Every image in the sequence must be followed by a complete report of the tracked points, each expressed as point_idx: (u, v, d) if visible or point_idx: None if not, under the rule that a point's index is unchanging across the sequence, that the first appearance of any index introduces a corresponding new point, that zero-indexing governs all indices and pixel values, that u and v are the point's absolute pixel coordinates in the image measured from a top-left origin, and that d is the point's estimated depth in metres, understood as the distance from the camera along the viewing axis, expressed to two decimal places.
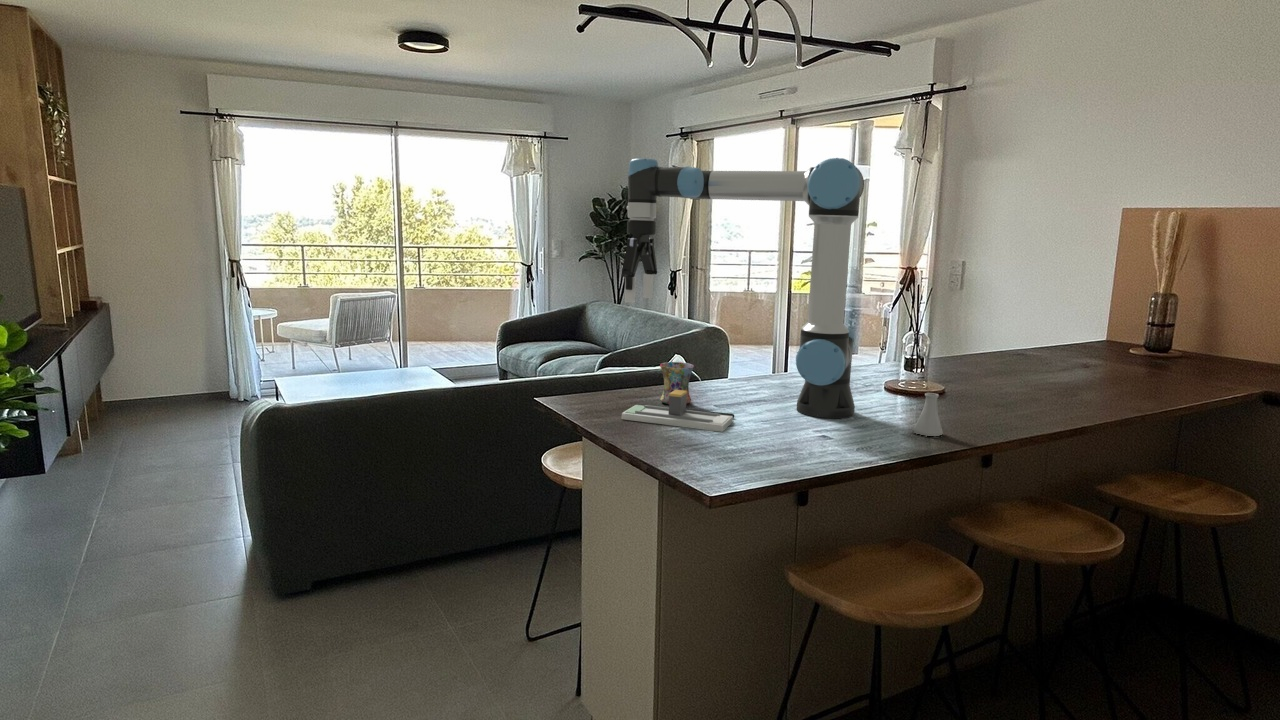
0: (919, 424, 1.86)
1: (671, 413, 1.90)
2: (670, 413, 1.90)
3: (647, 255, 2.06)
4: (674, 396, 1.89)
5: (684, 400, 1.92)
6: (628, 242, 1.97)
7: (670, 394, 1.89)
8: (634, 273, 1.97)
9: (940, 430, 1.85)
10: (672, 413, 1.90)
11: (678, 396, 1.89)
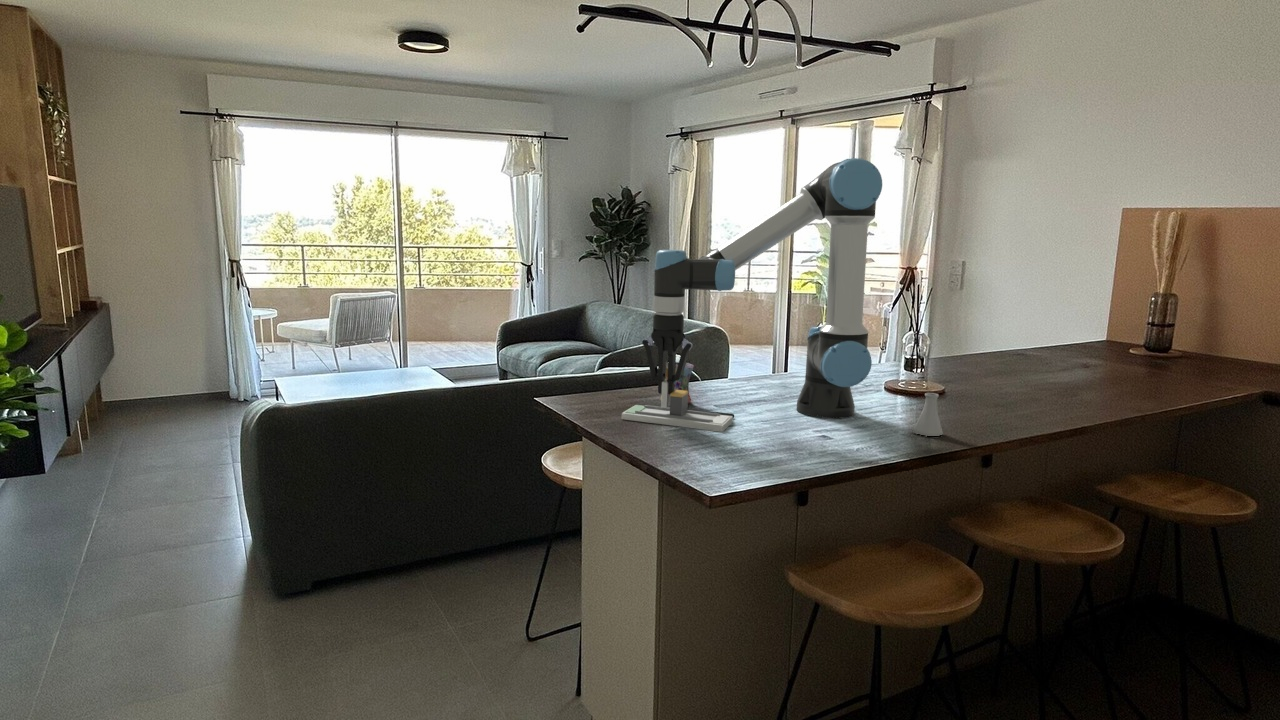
0: (919, 424, 1.86)
1: (672, 413, 1.90)
2: (671, 413, 1.90)
3: None
4: (675, 396, 1.89)
5: (685, 400, 1.92)
6: None
7: (671, 394, 1.89)
8: (660, 376, 1.91)
9: (940, 430, 1.85)
10: (673, 413, 1.90)
11: (679, 396, 1.89)
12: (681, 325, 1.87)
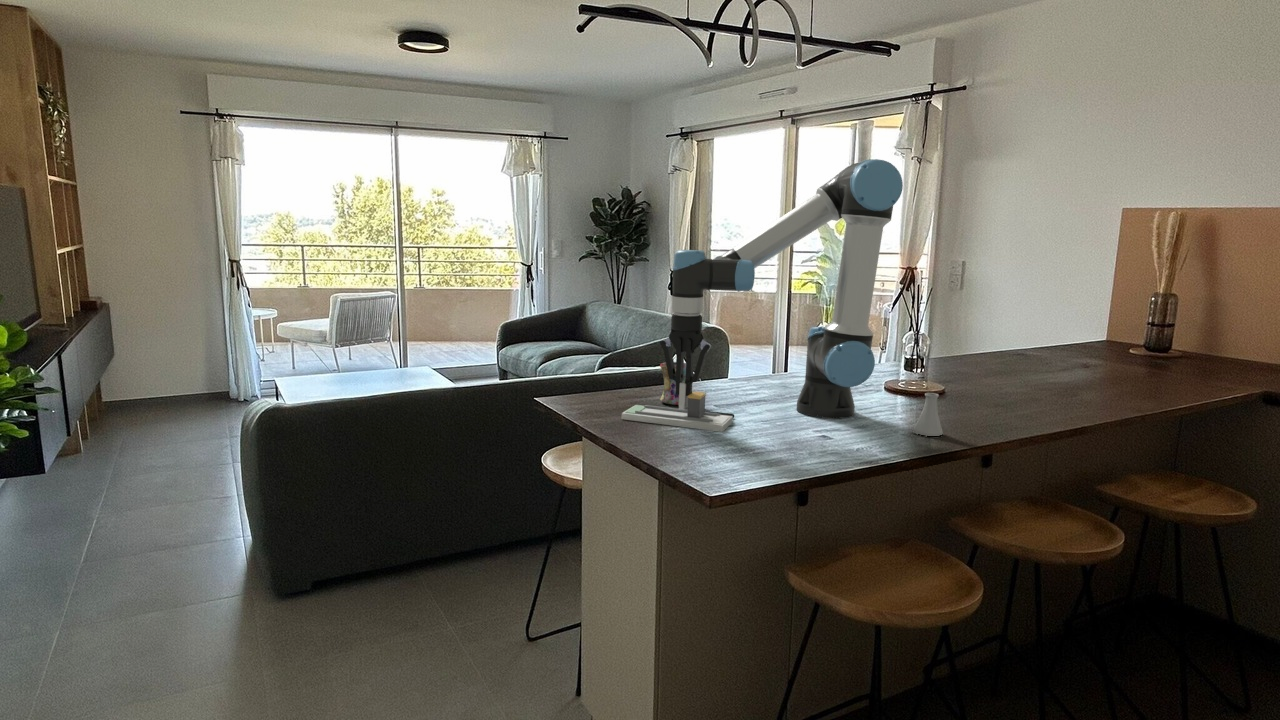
0: (919, 424, 1.86)
1: (690, 415, 1.88)
2: (689, 415, 1.89)
3: None
4: (693, 398, 1.87)
5: (703, 402, 1.90)
6: None
7: (689, 396, 1.88)
8: (678, 377, 1.89)
9: (940, 430, 1.85)
10: (691, 415, 1.88)
11: (697, 398, 1.87)
12: (700, 326, 1.86)
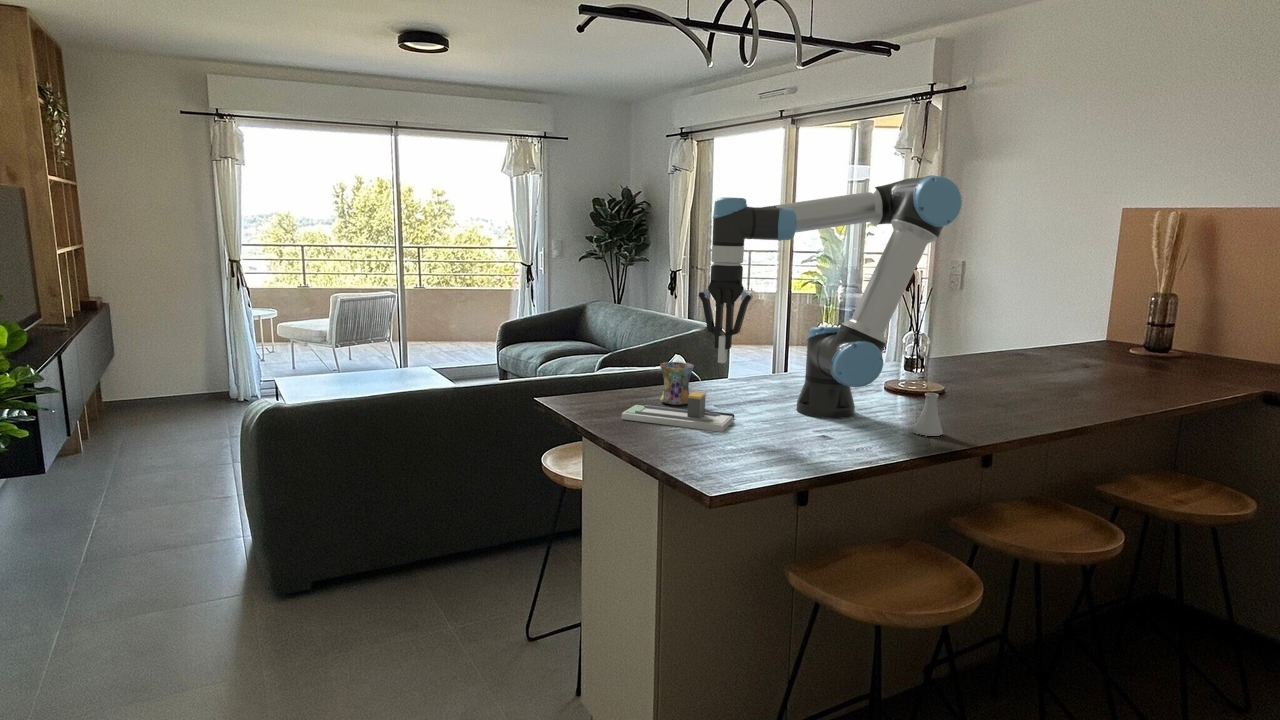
0: (919, 424, 1.86)
1: (690, 415, 1.88)
2: (689, 415, 1.89)
3: None
4: (693, 398, 1.87)
5: (703, 402, 1.90)
6: None
7: (689, 396, 1.88)
8: (717, 330, 1.84)
9: (940, 430, 1.85)
10: (691, 415, 1.88)
11: (697, 398, 1.87)
12: (740, 276, 1.80)
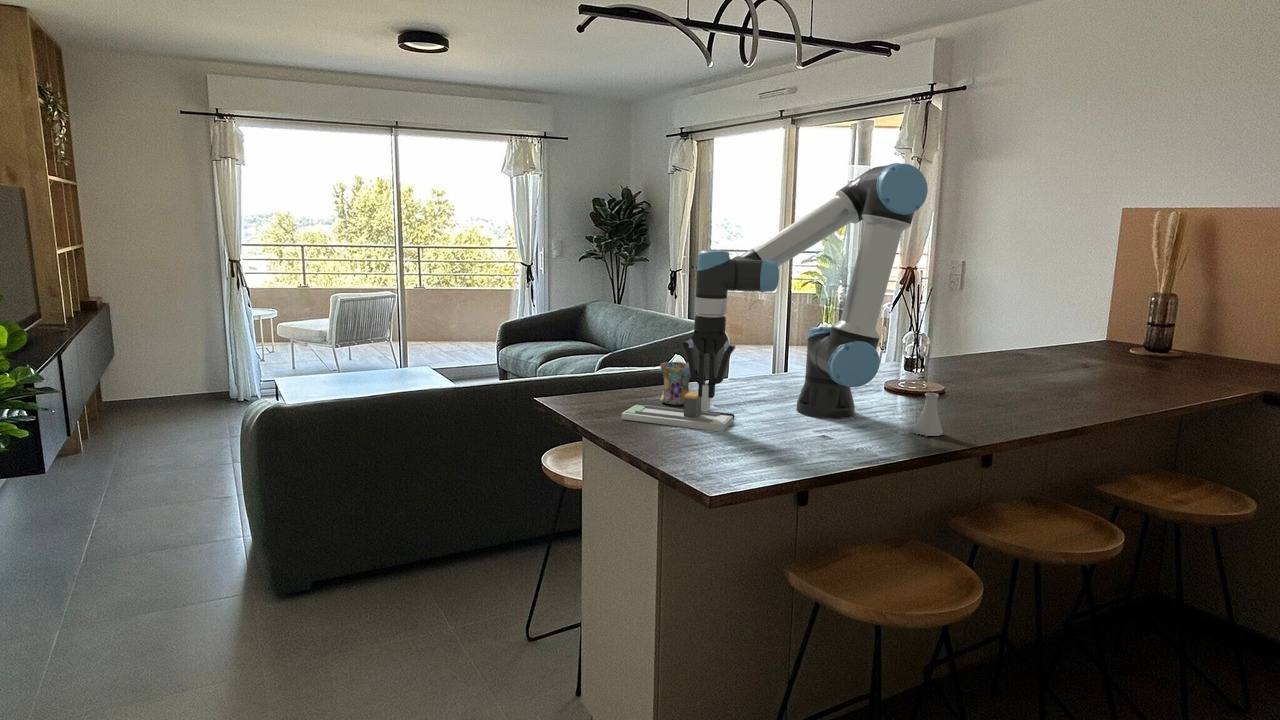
0: (919, 424, 1.86)
1: (686, 415, 1.89)
2: (685, 415, 1.89)
3: None
4: (689, 398, 1.88)
5: (699, 402, 1.90)
6: None
7: (685, 396, 1.88)
8: (701, 379, 1.87)
9: (940, 430, 1.85)
10: (687, 415, 1.89)
11: (693, 398, 1.87)
12: (723, 327, 1.84)
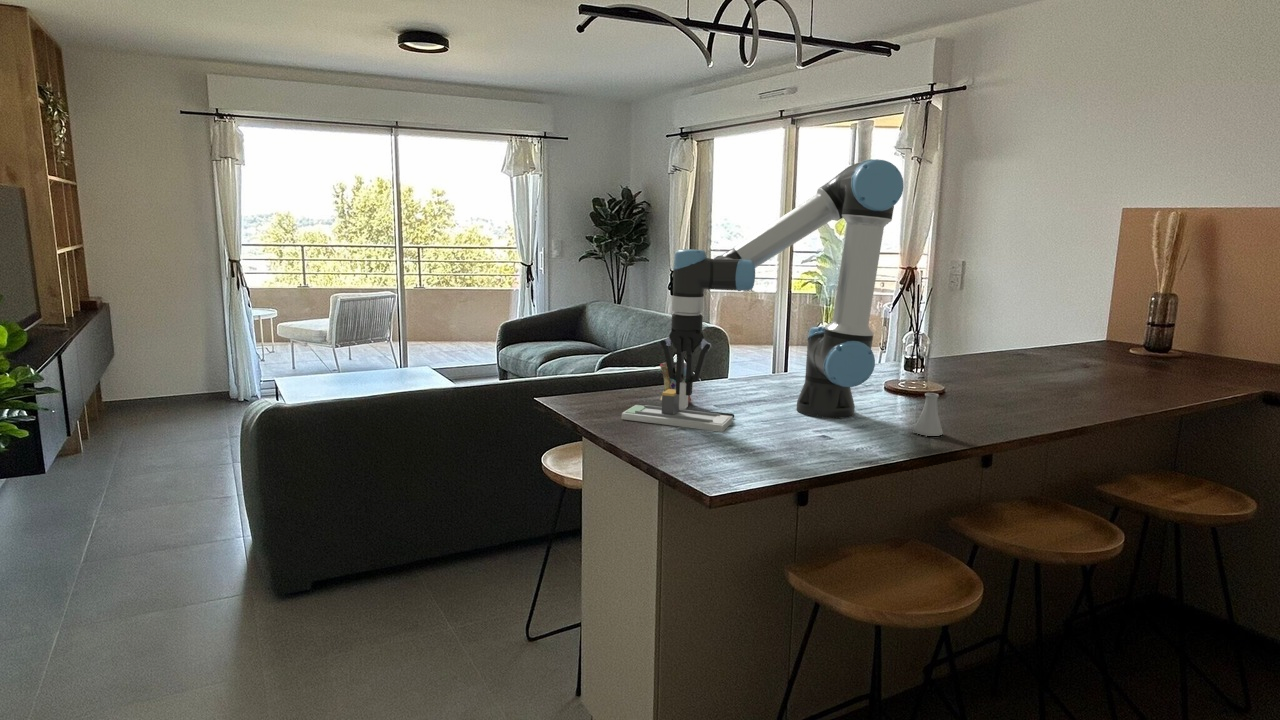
0: (919, 424, 1.86)
1: (664, 412, 1.91)
2: (663, 412, 1.91)
3: None
4: (667, 395, 1.90)
5: (677, 399, 1.92)
6: None
7: (663, 393, 1.90)
8: (678, 377, 1.89)
9: (940, 430, 1.85)
10: (665, 412, 1.91)
11: (671, 395, 1.89)
12: (700, 325, 1.86)
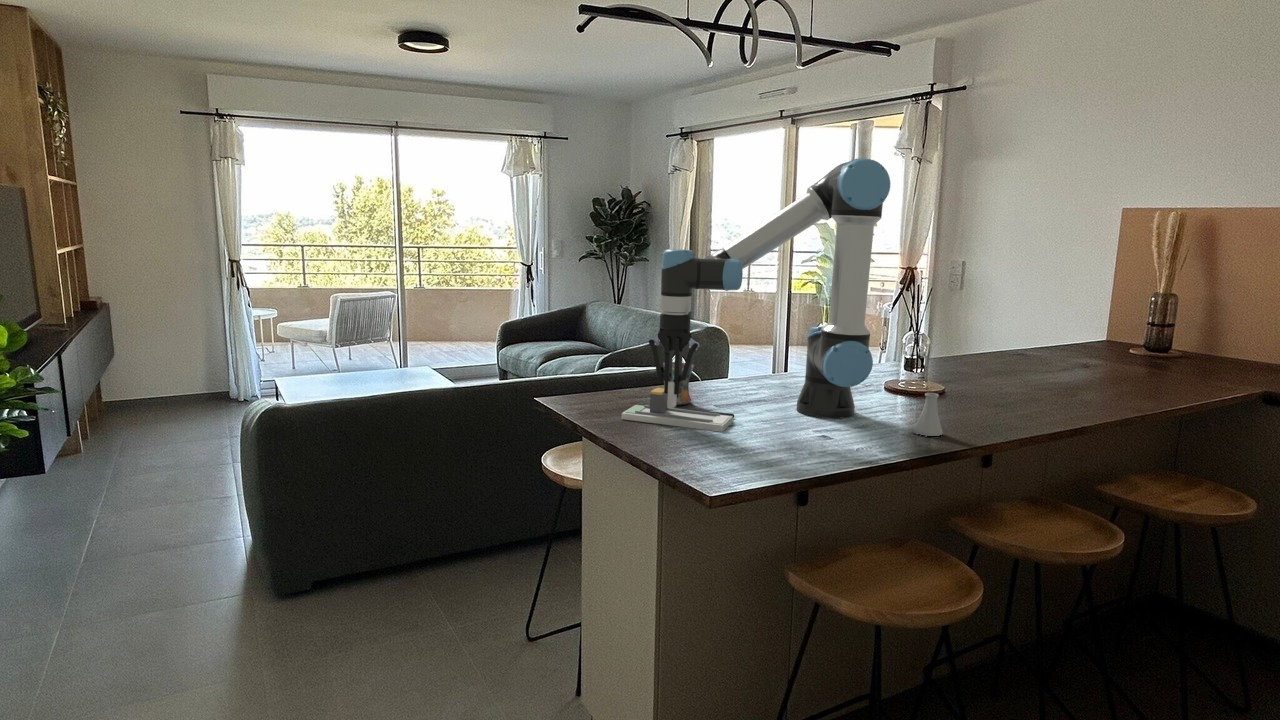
0: (919, 424, 1.86)
1: (652, 411, 1.92)
2: (651, 411, 1.92)
3: None
4: (655, 394, 1.91)
5: (665, 398, 1.93)
6: None
7: (651, 392, 1.91)
8: (666, 376, 1.90)
9: (940, 430, 1.85)
10: (653, 411, 1.92)
11: (659, 394, 1.90)
12: (688, 325, 1.87)
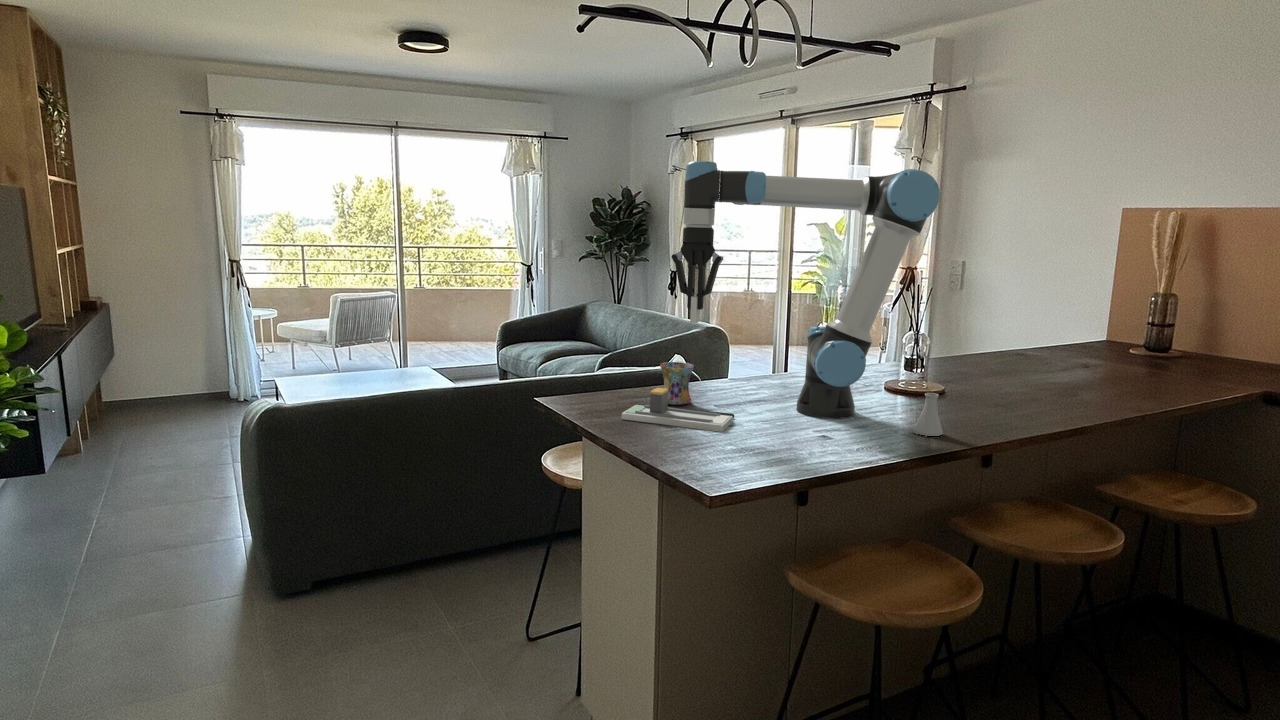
0: (919, 424, 1.86)
1: (652, 411, 1.92)
2: (651, 411, 1.92)
3: None
4: (655, 394, 1.91)
5: (665, 398, 1.93)
6: None
7: (651, 392, 1.91)
8: (689, 291, 1.90)
9: (940, 430, 1.85)
10: (653, 411, 1.92)
11: (659, 394, 1.90)
12: (711, 238, 1.86)
